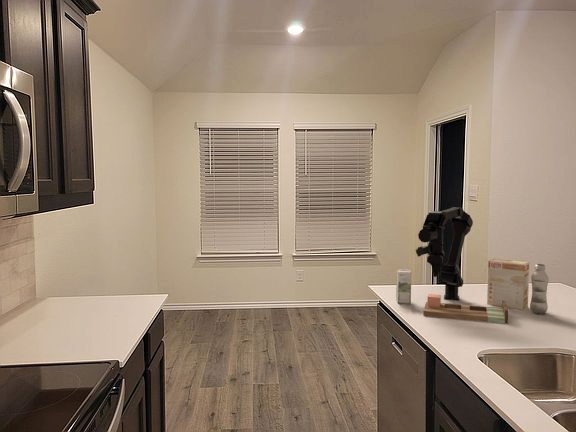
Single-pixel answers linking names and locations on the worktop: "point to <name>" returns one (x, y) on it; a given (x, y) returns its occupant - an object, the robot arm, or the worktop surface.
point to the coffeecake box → (508, 283)
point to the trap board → (468, 312)
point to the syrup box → (403, 287)
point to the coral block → (434, 300)
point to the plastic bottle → (539, 289)
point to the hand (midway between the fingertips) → (435, 275)
